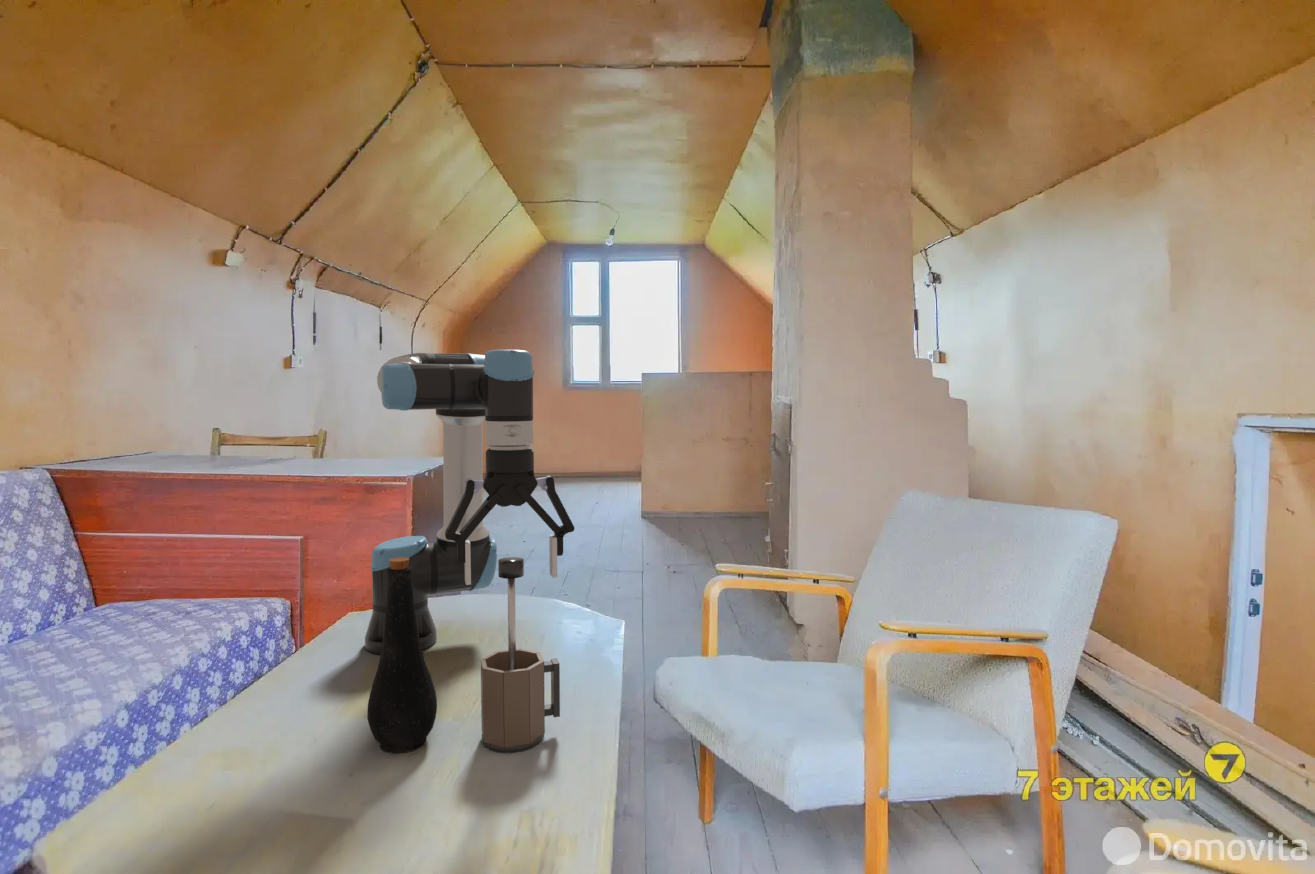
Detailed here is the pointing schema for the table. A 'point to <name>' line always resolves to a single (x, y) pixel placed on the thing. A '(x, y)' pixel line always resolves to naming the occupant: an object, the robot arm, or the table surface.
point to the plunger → (511, 600)
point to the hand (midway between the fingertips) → (511, 579)
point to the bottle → (401, 672)
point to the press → (516, 700)
